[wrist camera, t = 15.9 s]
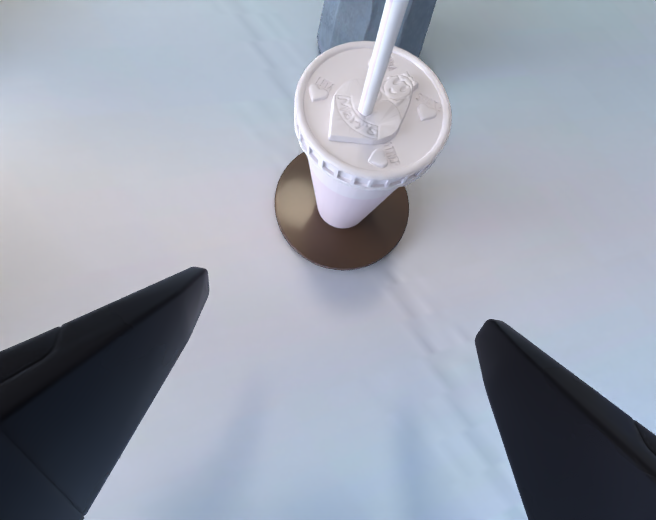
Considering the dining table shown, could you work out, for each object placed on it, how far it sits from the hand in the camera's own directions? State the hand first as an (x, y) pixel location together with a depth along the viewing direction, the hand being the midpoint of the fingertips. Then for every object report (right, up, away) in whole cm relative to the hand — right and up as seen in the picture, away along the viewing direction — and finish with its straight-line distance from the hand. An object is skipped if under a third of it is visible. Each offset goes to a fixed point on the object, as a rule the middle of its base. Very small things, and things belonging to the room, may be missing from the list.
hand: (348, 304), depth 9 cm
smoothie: (0, +5, +12) cm, 13 cm away
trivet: (0, +6, +12) cm, 13 cm away
